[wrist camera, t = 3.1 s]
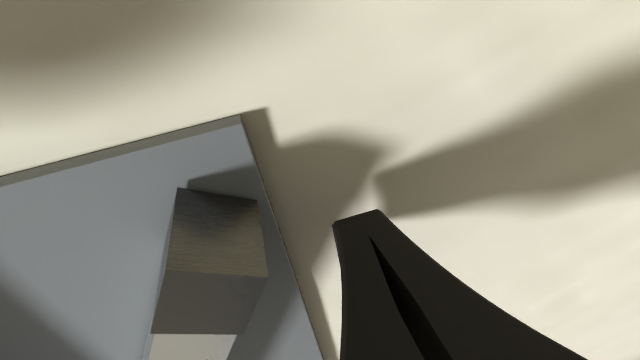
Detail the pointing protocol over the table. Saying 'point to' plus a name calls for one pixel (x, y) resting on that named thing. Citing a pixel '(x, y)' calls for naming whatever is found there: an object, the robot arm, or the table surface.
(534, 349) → the robot arm
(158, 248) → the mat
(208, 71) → the table surface
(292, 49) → the table surface
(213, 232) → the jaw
